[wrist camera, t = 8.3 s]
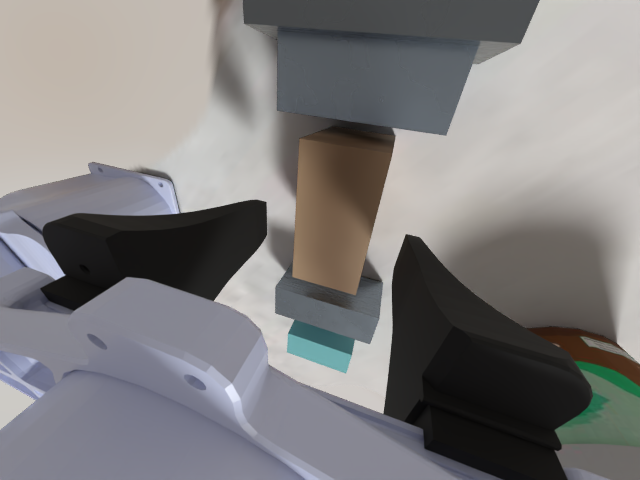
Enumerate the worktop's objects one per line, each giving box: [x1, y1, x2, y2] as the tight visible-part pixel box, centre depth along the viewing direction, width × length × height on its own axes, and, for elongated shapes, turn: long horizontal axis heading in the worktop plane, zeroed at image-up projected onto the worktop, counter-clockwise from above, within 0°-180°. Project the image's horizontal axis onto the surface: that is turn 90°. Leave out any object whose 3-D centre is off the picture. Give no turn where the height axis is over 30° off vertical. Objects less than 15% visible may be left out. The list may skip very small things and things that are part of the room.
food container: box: [526, 326, 640, 480], centre depth 15 cm, size 12×6×10 cm, turn 152°
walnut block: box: [292, 126, 396, 295], centre depth 14 cm, size 4×8×6 cm, turn 174°
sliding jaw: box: [275, 262, 383, 373], centre depth 21 cm, size 8×9×4 cm
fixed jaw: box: [243, 0, 540, 135], centre depth 11 cm, size 10×6×5 cm, turn 84°
